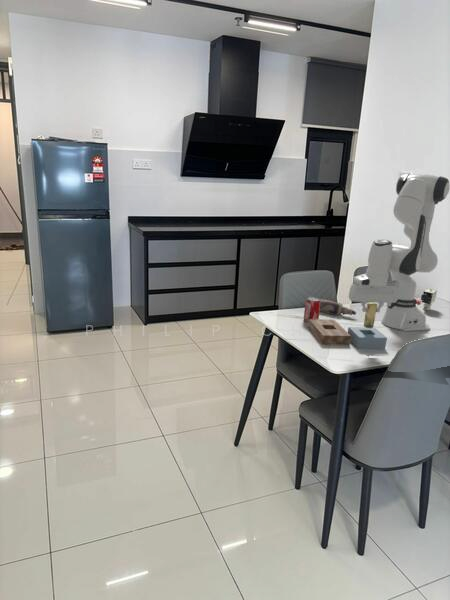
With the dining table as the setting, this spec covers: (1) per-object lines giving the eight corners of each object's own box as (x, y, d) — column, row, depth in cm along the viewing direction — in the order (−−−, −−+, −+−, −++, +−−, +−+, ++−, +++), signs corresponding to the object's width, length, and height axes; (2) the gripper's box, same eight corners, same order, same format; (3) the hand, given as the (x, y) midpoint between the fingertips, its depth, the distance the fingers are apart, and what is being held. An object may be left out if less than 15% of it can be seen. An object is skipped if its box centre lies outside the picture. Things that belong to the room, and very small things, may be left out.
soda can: (317, 326, 208) (321, 302, 205) (302, 324, 210) (305, 300, 206) (318, 321, 215) (321, 297, 212) (303, 319, 216) (306, 296, 213)
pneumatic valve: (433, 308, 249) (437, 288, 245) (428, 312, 240) (432, 291, 237) (423, 306, 252) (427, 286, 249) (417, 310, 243) (421, 289, 240)
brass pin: (370, 324, 188) (374, 302, 185) (374, 328, 184) (378, 305, 182) (361, 324, 188) (365, 302, 185) (365, 328, 184) (369, 305, 181)
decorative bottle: (304, 309, 232) (306, 297, 230) (310, 306, 238) (311, 294, 237) (352, 321, 219) (354, 308, 217) (357, 317, 225) (359, 305, 223)
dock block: (372, 340, 195) (374, 327, 193) (384, 351, 184) (387, 337, 182) (346, 339, 194) (348, 326, 192) (357, 350, 182) (359, 337, 181)
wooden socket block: (332, 329, 205) (334, 319, 203) (349, 346, 186) (350, 335, 184) (307, 329, 203) (309, 319, 202) (321, 346, 184) (323, 335, 183)
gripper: (396, 278, 184) (390, 309, 189) (349, 277, 182) (345, 308, 186) (403, 282, 179) (397, 314, 183) (355, 280, 176) (350, 313, 180)
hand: (370, 311), depth 184 cm, fingers closed on brass pin, 4 cm apart
